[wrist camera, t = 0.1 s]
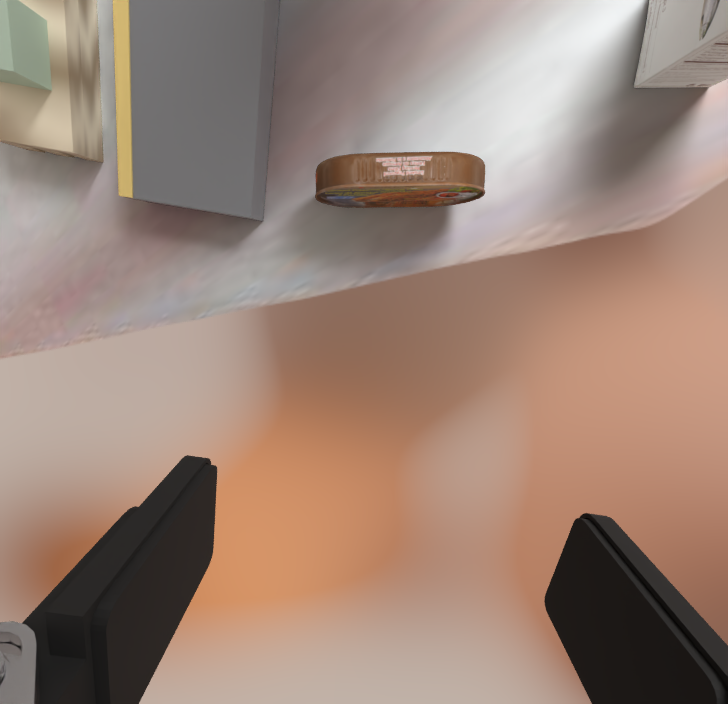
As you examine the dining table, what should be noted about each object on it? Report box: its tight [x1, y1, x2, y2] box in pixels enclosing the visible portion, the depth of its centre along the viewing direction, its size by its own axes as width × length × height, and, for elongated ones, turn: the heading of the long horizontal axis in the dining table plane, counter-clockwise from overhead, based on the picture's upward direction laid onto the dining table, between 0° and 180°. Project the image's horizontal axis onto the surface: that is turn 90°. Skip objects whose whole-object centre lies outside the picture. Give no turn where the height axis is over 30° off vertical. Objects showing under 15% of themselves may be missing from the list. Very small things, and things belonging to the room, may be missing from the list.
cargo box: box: [0, 0, 52, 91], centre depth 28 cm, size 5×4×3 cm
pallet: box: [0, 0, 103, 162], centre depth 32 cm, size 14×8×4 cm, turn 171°
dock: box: [113, 0, 280, 221], centre depth 32 cm, size 20×12×4 cm, turn 171°
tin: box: [315, 152, 485, 208], centre depth 32 cm, size 15×3×8 cm, turn 91°
